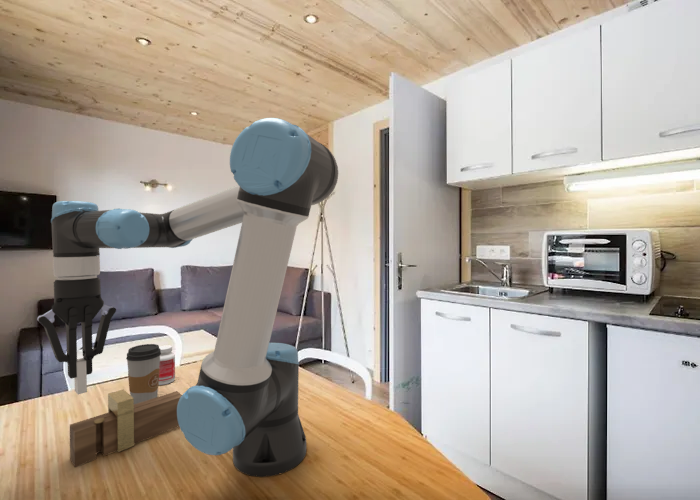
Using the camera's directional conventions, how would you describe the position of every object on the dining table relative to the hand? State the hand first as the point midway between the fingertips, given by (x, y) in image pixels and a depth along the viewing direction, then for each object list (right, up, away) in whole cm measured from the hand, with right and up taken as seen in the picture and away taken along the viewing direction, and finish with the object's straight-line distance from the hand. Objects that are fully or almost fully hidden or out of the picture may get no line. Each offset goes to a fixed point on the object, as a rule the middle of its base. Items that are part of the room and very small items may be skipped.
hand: (80, 391), depth 71 cm
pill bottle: (-4, -13, +39) cm, 41 cm away
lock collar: (+5, -14, +5) cm, 15 cm away
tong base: (+7, -14, +6) cm, 16 cm away
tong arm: (+9, -14, +8) cm, 18 cm away
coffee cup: (-2, -13, +25) cm, 29 cm away
